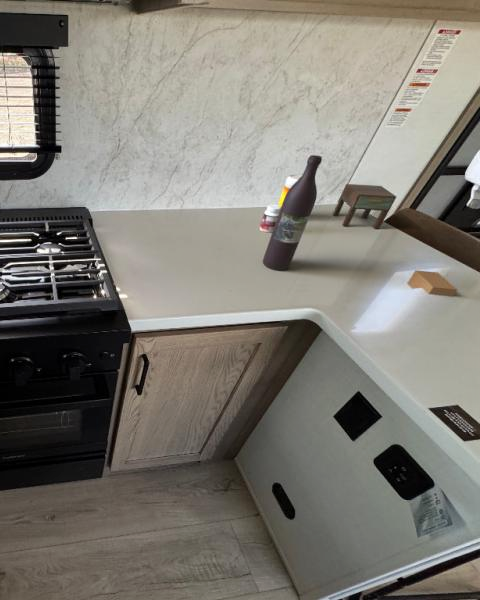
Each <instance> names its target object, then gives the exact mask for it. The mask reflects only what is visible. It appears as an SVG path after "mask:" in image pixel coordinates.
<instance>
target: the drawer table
mask: <svg viewBox="0 0 480 600" xmlns="http://www.w3.org/2000/svg"><path fill="white" fill-rule="evenodd" d="M396 199H397V195H395V194H394V193H392V192H391V191H389V190H388V189H387V188H385V187H383V185H371V184H353V183H346V184H345V186H344V189H343V190H342V192H341V194H340V197H339V199H338V201H337V203H336V206H335V208H334V211H333V213H332V216H333V217H339V215H340V213H341V211H342V208H343V206H344V204H346V205H348V207H349V209H348V212H347V214H346V216H345V218H344V220H343V221H342V224H341V226H343V227H346V228H348V227H349V226H350V223H351V221H352V220H353V218H354V215H355V213H356V211H357V210H363V212H362V214H361V218H362V219H368V217H369V215H370V214H371V211H380V213H379V214H378V217H377V218H376V221H374V224H373V226H372V228H373V229H374V230H380V228H381V226H382V224H383V223H384V221H385V219H386V217H387V215H388V213H389V212H390V210H391V208H392V206H393V205H394V202H395V201H396Z"/></svg>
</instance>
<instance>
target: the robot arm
mask: <svg viewBox="0 0 480 600" xmlns="http://www.w3.org/2000/svg"><path fill="white" fill-rule="evenodd" d="M464 180H466V181H468V182H470V183H472V184H473V186H472V188H471V191H470V198H469V200H468V201H467V203H466V206H467V207H468V208H470V209H473V210H474V209H475V210H478V209H480V149H479V150H478V151H477V153H476V154H475V155H474V157H473V158H472V160H471V162H470V163H469V165H468V167H467V168H466V170H465V173H464Z"/></svg>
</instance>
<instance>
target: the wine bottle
mask: <svg viewBox="0 0 480 600" xmlns="http://www.w3.org/2000/svg"><path fill="white" fill-rule="evenodd" d="M322 161H323V157H322V156H321V155H315V154H313V155H309V157H308V158H307V161H306V166H305V168H304V171H303V173H302V174H301V175H302V176H301V177H300V178H299V180H298V181H297V182H296V183H295V184H294V185H293V186H292V187H291V188H290V189H289V191H288V192H287V194H286V196H285V198H284V201H283V204H282V207H281V209H280V212H279V215H278V218H277V221H276V224H275V227H274V229H273V232H271V236H270V239H269V241H268V244H267V247H266V249H265V253H264V254H263V259H262V264H263V265H264V266H265V267H266V268H268V269H271V270H274V271H287V270H288V269H289V268H290V266H291V263H292V261H293V258H294V256H295V255H296V252H297V249H298V246H299V244H300V242H301V239H302V236H303V234H304V232H305V229H306V226H307V224H308V222H309V219H310V217H311V215H312V212H313V209H314V206H315V204H316V202H317V196H318V189H317V183H316V175H317V171H318V168H319V166H320V165H321V164H322Z"/></svg>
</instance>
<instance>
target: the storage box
mask: <svg viewBox="0 0 480 600" xmlns="http://www.w3.org/2000/svg"><path fill="white" fill-rule="evenodd" d="M407 284H408V285H409V287H410V288H412V290H415V289H423V291H425V292H426V293H427V294H428V295H435V296H444V297H453V296H454V295H455V293H456V292H457V291H458V289H457V288H456V287H455V286H454V285H453V284H452V283H450V282H449V281H448V279H446V278H445V277H444V276H442V274H440V273H439V272H438V271H437V272H436V271H425V270H418V269H417V270H416V269H415V270H414V272H413V273H412V275H411V277H410V278H409V279H408V281H407Z"/></svg>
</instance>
